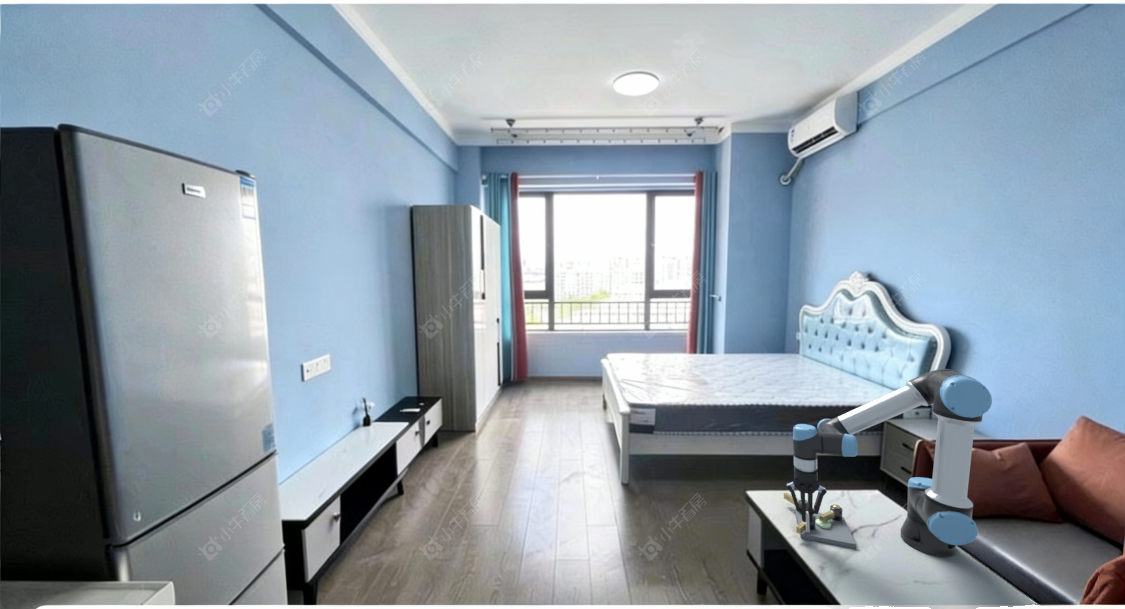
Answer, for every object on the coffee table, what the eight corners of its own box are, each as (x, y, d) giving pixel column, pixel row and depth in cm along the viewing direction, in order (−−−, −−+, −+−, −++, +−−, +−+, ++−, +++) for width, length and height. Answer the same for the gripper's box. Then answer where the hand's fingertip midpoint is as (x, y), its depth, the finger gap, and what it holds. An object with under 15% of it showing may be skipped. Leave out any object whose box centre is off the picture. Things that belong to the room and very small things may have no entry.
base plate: (843, 521, 165) (844, 514, 165) (855, 548, 148) (855, 540, 148) (794, 512, 171) (794, 505, 171) (800, 537, 155) (800, 530, 155)
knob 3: (834, 514, 167) (834, 502, 166) (844, 519, 163) (844, 507, 163) (815, 521, 162) (816, 509, 161) (826, 527, 158) (826, 515, 158)
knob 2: (805, 522, 162) (806, 510, 161) (817, 526, 159) (817, 514, 158) (792, 533, 155) (792, 521, 154) (804, 538, 152) (804, 525, 151)
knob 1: (812, 514, 167) (812, 502, 167) (804, 515, 166) (804, 504, 166) (788, 499, 178) (788, 488, 178) (781, 501, 177) (781, 490, 177)
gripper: (823, 465, 154) (825, 527, 155) (785, 461, 159) (787, 521, 160) (827, 474, 147) (829, 539, 148) (787, 470, 152) (789, 532, 153)
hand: (807, 530), depth 154 cm, fingers closed
